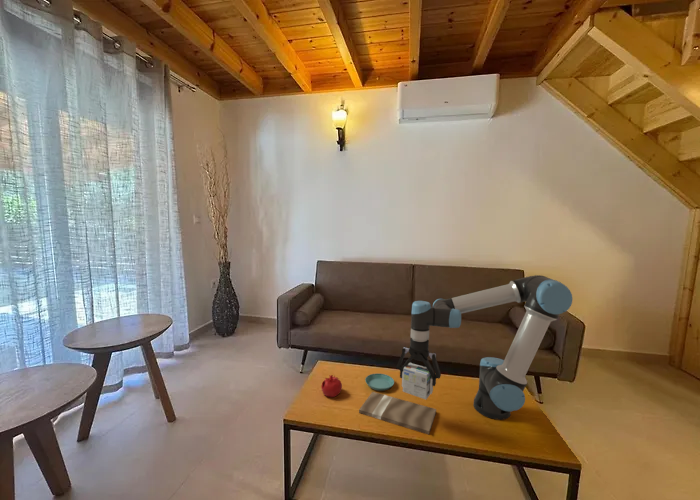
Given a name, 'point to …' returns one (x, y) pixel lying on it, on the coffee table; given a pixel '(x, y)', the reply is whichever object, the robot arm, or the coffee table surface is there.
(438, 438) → the coffee table surface
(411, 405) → the board
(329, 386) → the pomegranate
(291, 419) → the coffee table surface
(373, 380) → the saucer
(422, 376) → the light bulb box
